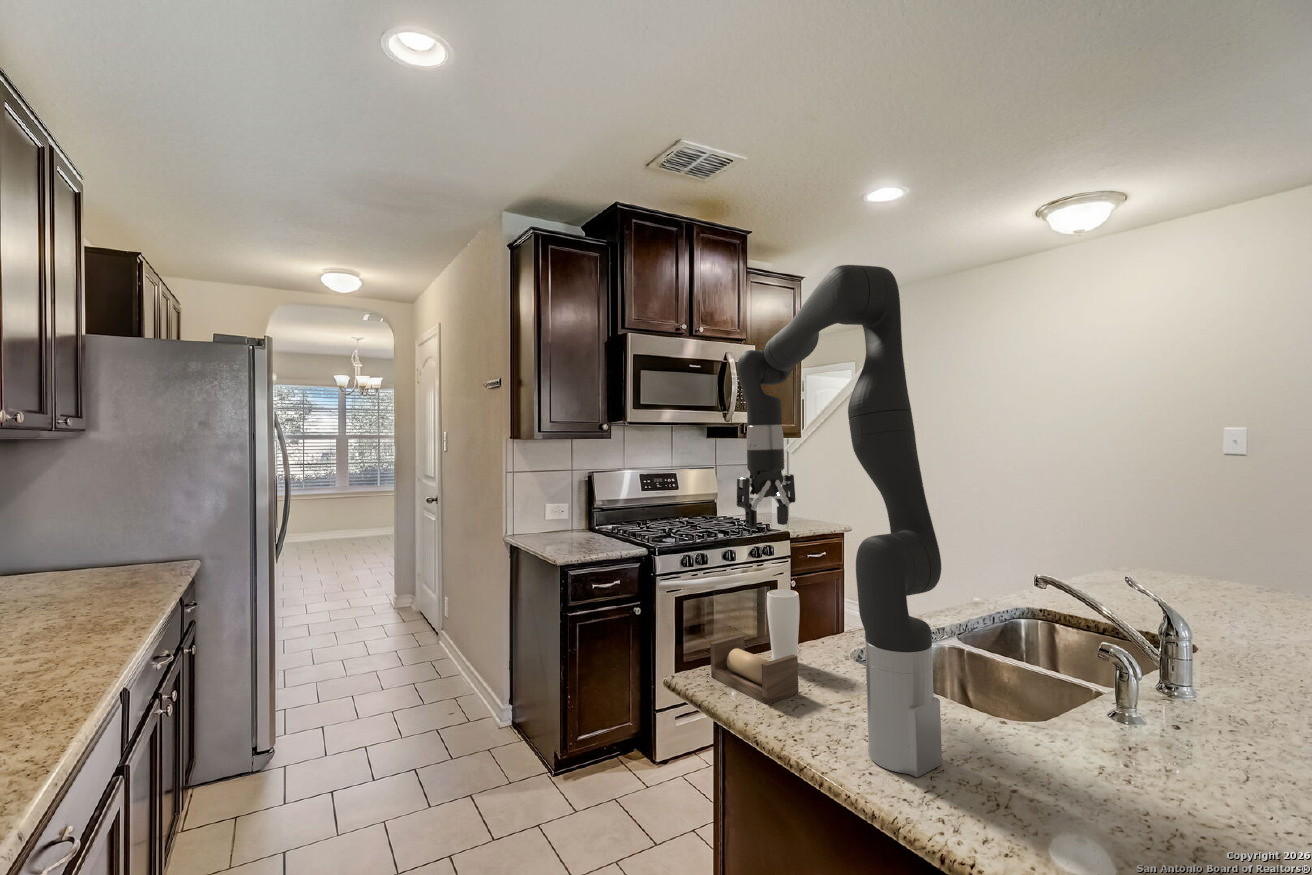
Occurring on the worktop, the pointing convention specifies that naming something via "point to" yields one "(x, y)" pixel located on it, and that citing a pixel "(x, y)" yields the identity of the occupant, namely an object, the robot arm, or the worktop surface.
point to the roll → (746, 664)
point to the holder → (775, 674)
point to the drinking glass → (783, 622)
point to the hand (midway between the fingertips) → (767, 526)
